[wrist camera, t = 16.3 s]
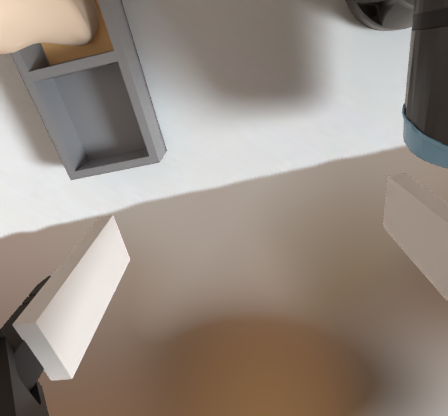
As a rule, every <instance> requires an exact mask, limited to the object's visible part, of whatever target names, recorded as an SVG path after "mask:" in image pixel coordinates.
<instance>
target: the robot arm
mask: <svg viewBox="0 0 448 416" xmlns="http://www.w3.org/2000/svg"><path fill="white" fill-rule="evenodd" d="M346 2H347V4H348V6H349V8H350V10H351V11H352V13H353V14H354V16H355V17H356V18H357V19H358V20H359V21H360V22H362V23H363V24H365V25H366V26H368V27H370V28H373V29H376V30H382V31H392V30H400V29H406V28H409V27H412V30H411V41H410V52H409V64H408V75H407V86H406V97H405V104H404V105H403V109H402V114H403V118H404V130H403V138H404V142H405V143H406V145H407V147H408V148H409V150H410V151H411V152H412V153H413V154H414V155H416V156H417V157H419V158H421V159H422V160H424V161H427V162H429V163H431V164H434V165H437V166H440V167H443V168H448V0H346ZM387 177H388V178H387V188H386V199H385V212H384V222H383V223H384V224H383V227H384V229H385V230H386V231H387V232H388V233H389V234H390V236H391V237H392V238H393V239H394V240H395V241H396V243H397V244H398V245H399V246H400V247H401V248H402V249H403V251H404V252H405V253H406V254H407V255H408V256H409V257H410V259H411V260H412V261H413V262H414V263H415V265H416V266H417V267H418V268H419V269H420V270H421V271H422V273H423V274H424V275H425V276H426V277H427V278H428V280H429V281H430V282H431V283H432V284H433V285H434V286H435V288H436V289H437V290H438V291H439V292H440V294H441V295H442V296H443V297H444V298H445V299H446V300H447V302H448V203H447V202H446V201H444V200H443V199H441V198H440V197H439V196H437V195H436V194H434V193H433V192H431V191H430V190H428V189H427V188H426V187H424V186H423V185H421V184H420V183H418V182H417V181H416V180H414V179H413V178H411V177H410V176H408V175H407V174H406V173H403V174H396V175H388V176H387ZM129 261H130V257H129V255H128V252H127V250H126V247H125V245H124V242H123V240H122V237H121V234H120V232H119V229H118V227H117V224H116V222H115V219H114V216H113V215H110V216H103V217H98V218H97V220H96V221H95V222H94V224H93V225H92V226H91V227H90V228H89V230H88V231H87V232H86V233H85V235H84V236H83V237H82V238H81V240H80V241H79V242H78V243H77V245H76V246H75V247H74V248H73V250H72V251H71V252H70V253H69V255H68V256H67V257H66V258H65V260H64V261H63V262H62V263H61V265H60V266H59V267H58V268H57V270H56V271H55V272H54V273H53V275H52V276H48V277H47V278H46V279H44V280H43V281H42V282H41V283H39V284H38V285H37V286H36V287H35V288H34V290H33V291H32V292H31V293H30V295H29V297H27V298H26V299H25V300H24V302H23V303H22V305H21V306H19V308H18V309H17V310H16V311H15V312H14V314H13V315H12V316H11V317H10V318H9V320H8V321H7V322H6V323H5V324H4V326H3V327H2V328H1V329H0V416H49V414H48V410H47V406H46V402H45V398H44V393H43V389H42V386H41V385H40V383H39V382H38V378H39V377H40V375H41V373H42V372H43V370H44V371H45V372H46V374H47V375H48V377H49V378H50V379H51V381H53V380H64V379H72V378H73V376H74V374H75V372H76V370H77V367H78V366H79V364H80V362H81V359H82V357H83V355H84V353H85V351H86V349H87V347H88V345H89V343H90V341H91V339H92V337H93V335H94V333H95V331H96V329H97V327H98V324H99V322H100V320H101V318H102V316H103V314H104V312H105V310H106V308H107V306H108V304H109V302H110V300H111V298H112V296H113V294H114V292H115V290H116V288H117V285H118V283H119V281H120V279H121V277H122V275H123V273H124V271H125V269H126V267H127V265H128V262H129Z"/></svg>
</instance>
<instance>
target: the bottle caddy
mask: <svg viewBox="0 0 448 416" xmlns="http://www.w3.org/2000/svg"><path fill="white" fill-rule="evenodd" d="M94 2H95V5H96V8H97V11H98V17H99V25H98V30H97V33H96V35H95V37H94V39H93V40H92V41H91V42H90V43H88V44H86V45H82V46H70V45H61V44H53V43H36V44H33V45H30V46H28V47H25V48H23V49H21V50H18V51H16V52H14V53H11V55H12V57H13V60H14V62H15V64H16V66H17V68H18V70H19V72H20V74H21V76H22V78H23V81H24V83H25V85H26V87H27V89H28V91H29V93H30V95H31V97H32V99H33V102H34V104H35V106H36V108H37V110H38V112H39V114H40V116H41V118H42V121H43V123H44V125H45V127H46V129H47V131H48V133H49V135H50V137H51V139H52V142H53V144H54V146H55V148H56V150H57V152H58V154H59V156H60V158H61V160H62V163H63V165H64V167H65V169H66V171H67V173H68V175H69V177H70V179H71V180H74V179H79V178H84V177H89V176H94V175H99V174H104V173H109V172H114V171H119V170H124V169H129V168H134V167H139V166H144V165H149V164H154V163H159V162H160V161H161V159H162V158H163V156H164V154H165V153H166V151H167V150H166V147H165V143H164V140H163V137H162V133H161V130H160V127H159V124H158V120H157V117H156V114H155V110H154V107H153V104H152V100H151V97H150V94H149V90H148V87H147V84H146V81H145V77H144V74H143V71H142V67H141V64H140V61H139V57H138V54H137V51H136V47H135V44H134V41H133V38H132V34H131V31H130V28H129V24H128V21H127V18H126V14H125V11H124V8H123V5H122V1H121V0H94Z"/></svg>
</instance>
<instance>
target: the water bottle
mask: <svg viewBox="0 0 448 416" xmlns="http://www.w3.org/2000/svg"><path fill="white" fill-rule="evenodd" d="M98 25H99V17H98V11H97V8H96V5H95V2H94V0H0V54H10V53H14V52H16V51H18V50H21V49H23V48H25V47H28V46H30V45H33V44H36V43H53V44H61V45H70V46H82V45H86V44H88V43H90V42H91V41H92V40H93V39H94V37H95V35H96V33H97V30H98Z"/></svg>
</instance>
